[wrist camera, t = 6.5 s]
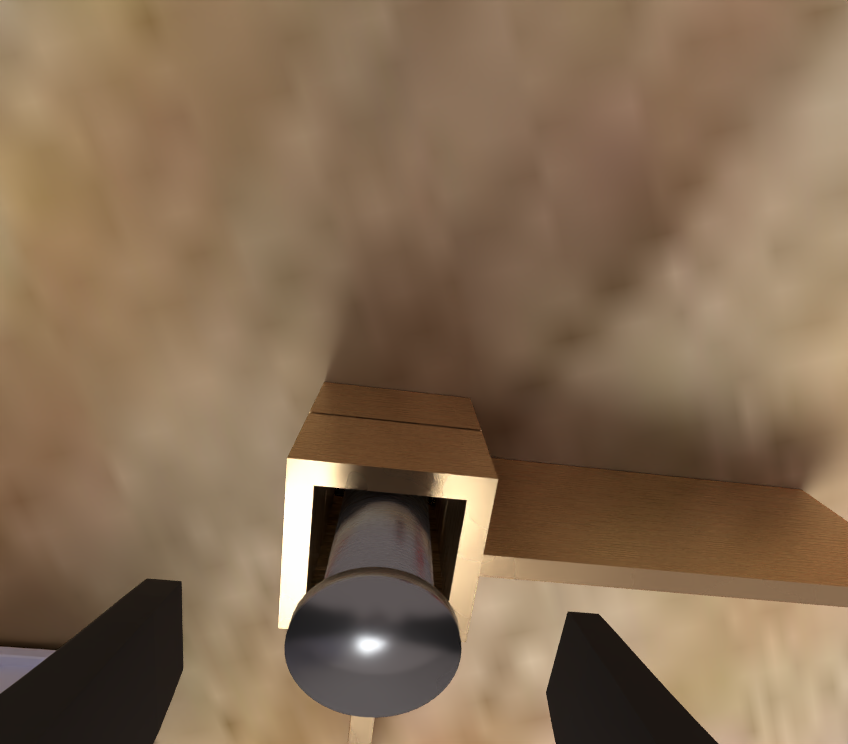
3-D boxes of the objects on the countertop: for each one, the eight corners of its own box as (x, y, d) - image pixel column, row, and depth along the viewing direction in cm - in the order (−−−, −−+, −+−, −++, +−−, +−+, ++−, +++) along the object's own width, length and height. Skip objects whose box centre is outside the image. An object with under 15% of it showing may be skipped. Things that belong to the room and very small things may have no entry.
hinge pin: (340, 480, 16) (280, 711, 9) (348, 396, 15) (288, 571, 8) (429, 489, 17) (447, 723, 9) (442, 407, 16) (474, 588, 8)
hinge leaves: (296, 760, 20) (262, 929, 15) (324, 381, 15) (286, 458, 10) (681, 782, 21) (759, 944, 17) (822, 437, 16) (992, 528, 12)
